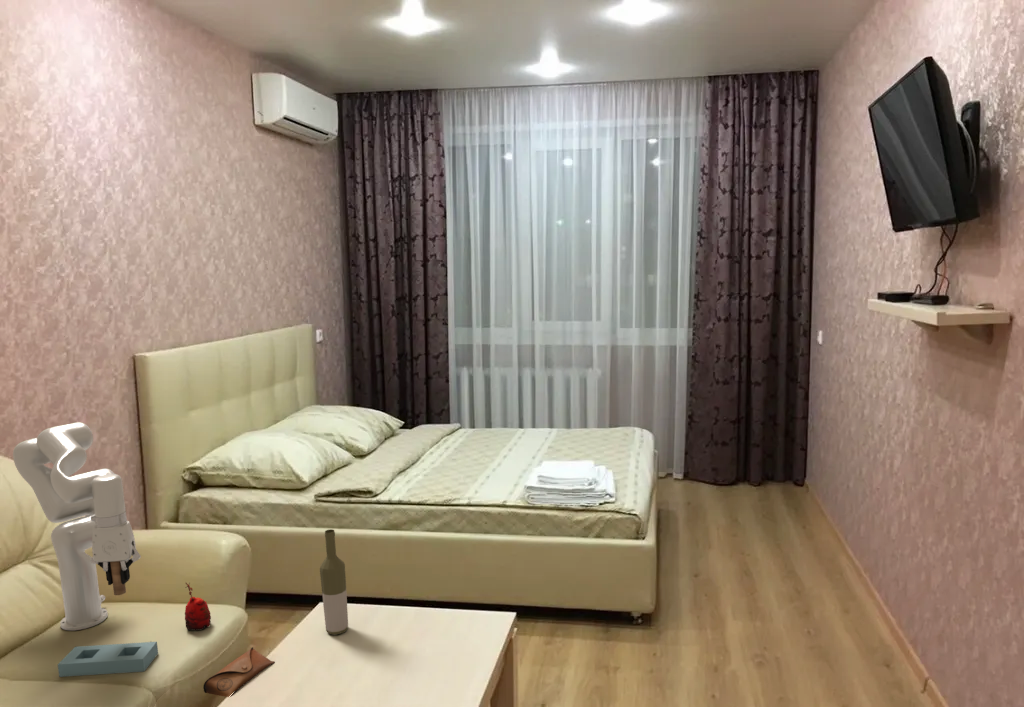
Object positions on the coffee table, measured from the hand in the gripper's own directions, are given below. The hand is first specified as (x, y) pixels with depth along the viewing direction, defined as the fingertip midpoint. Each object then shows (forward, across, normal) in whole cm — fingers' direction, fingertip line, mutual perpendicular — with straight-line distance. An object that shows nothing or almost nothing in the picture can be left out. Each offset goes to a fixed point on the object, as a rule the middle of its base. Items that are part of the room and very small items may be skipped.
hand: (118, 581), depth 214 cm
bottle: (+19, +59, +1) cm, 62 cm away
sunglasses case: (+20, +38, -20) cm, 47 cm away
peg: (+3, 0, 0) cm, 3 cm away
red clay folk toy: (+19, +17, +9) cm, 27 cm away
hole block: (+19, 0, -10) cm, 21 cm away
